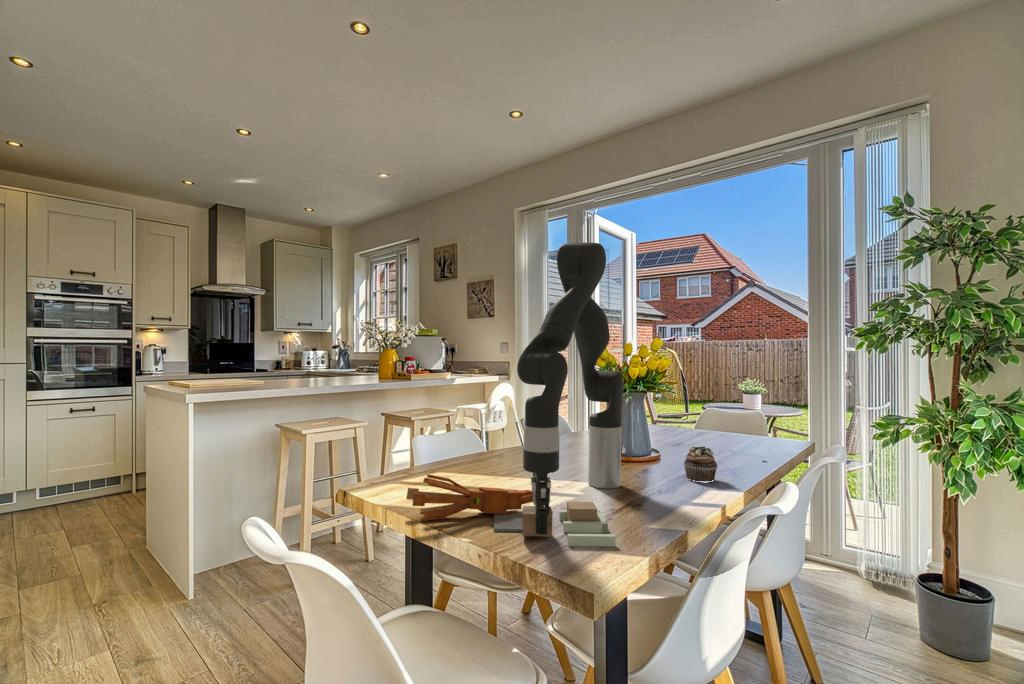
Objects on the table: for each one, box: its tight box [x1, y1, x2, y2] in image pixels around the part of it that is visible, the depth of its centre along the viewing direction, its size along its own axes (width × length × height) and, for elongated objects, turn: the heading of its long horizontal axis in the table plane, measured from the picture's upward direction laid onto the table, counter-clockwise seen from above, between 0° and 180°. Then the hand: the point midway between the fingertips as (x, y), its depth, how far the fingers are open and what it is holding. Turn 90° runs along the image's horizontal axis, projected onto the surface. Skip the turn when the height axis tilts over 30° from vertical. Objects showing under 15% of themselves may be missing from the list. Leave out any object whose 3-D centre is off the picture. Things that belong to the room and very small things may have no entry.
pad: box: [493, 513, 523, 533], centre depth 110 cm, size 9×9×1 cm
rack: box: [558, 501, 616, 547], centre depth 106 cm, size 16×10×4 cm, turn 1°
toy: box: [406, 473, 533, 522], centre depth 116 cm, size 10×11×30 cm
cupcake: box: [683, 446, 718, 481], centre depth 151 cm, size 10×10×10 cm
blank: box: [522, 505, 553, 537], centre depth 103 cm, size 5×6×4 cm
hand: (540, 527), depth 103 cm, fingers closed on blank, 5 cm apart
